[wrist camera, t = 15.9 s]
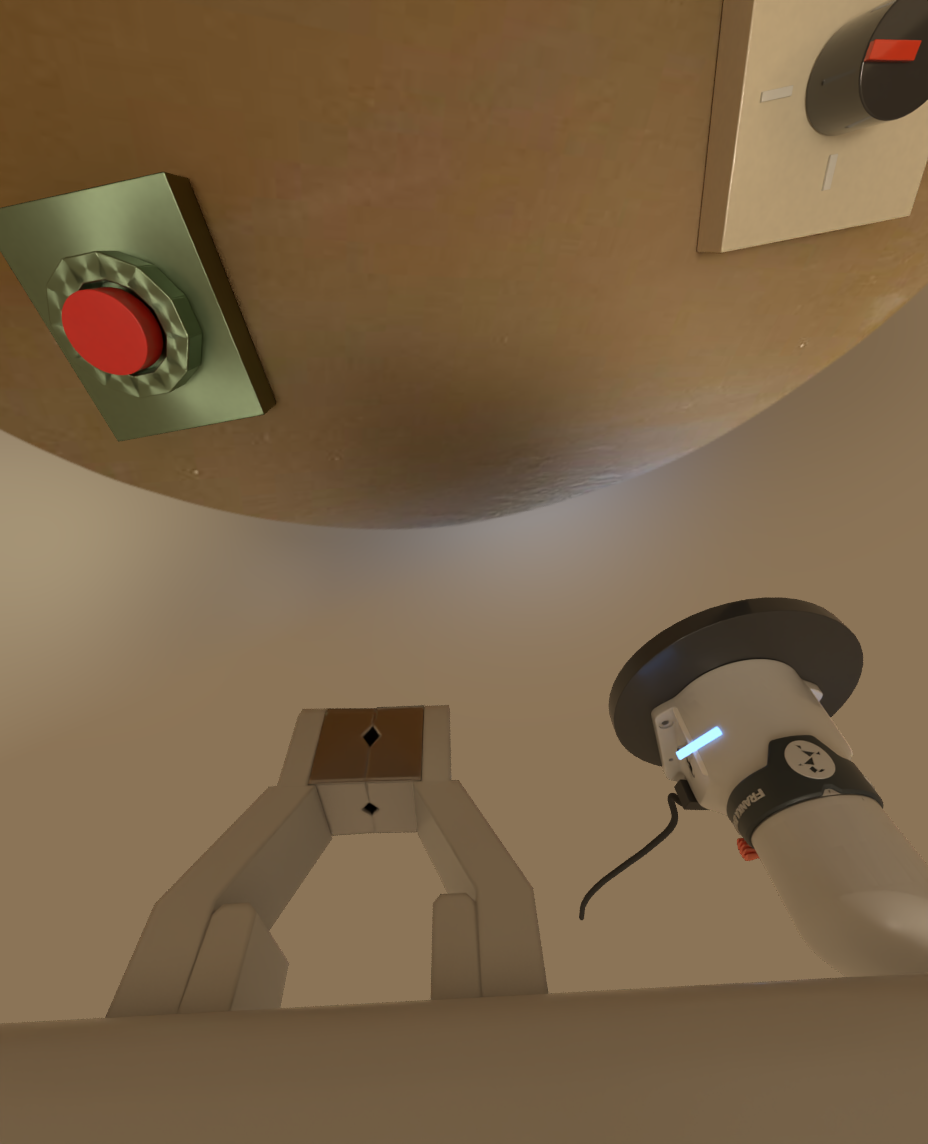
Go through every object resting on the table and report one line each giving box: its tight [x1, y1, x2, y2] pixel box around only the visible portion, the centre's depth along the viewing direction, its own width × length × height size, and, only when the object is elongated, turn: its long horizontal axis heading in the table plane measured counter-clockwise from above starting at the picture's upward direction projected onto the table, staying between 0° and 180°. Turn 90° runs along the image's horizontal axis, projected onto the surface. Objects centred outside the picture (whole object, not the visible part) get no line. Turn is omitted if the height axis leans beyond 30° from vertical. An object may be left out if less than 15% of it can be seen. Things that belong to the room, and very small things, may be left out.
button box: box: [0, 172, 276, 441], centre depth 27 cm, size 12×10×4 cm
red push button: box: [62, 287, 163, 375], centre depth 25 cm, size 4×4×2 cm
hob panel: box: [697, 0, 928, 253], centre depth 23 cm, size 12×10×3 cm
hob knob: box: [806, 0, 928, 136], centre depth 20 cm, size 4×4×4 cm
